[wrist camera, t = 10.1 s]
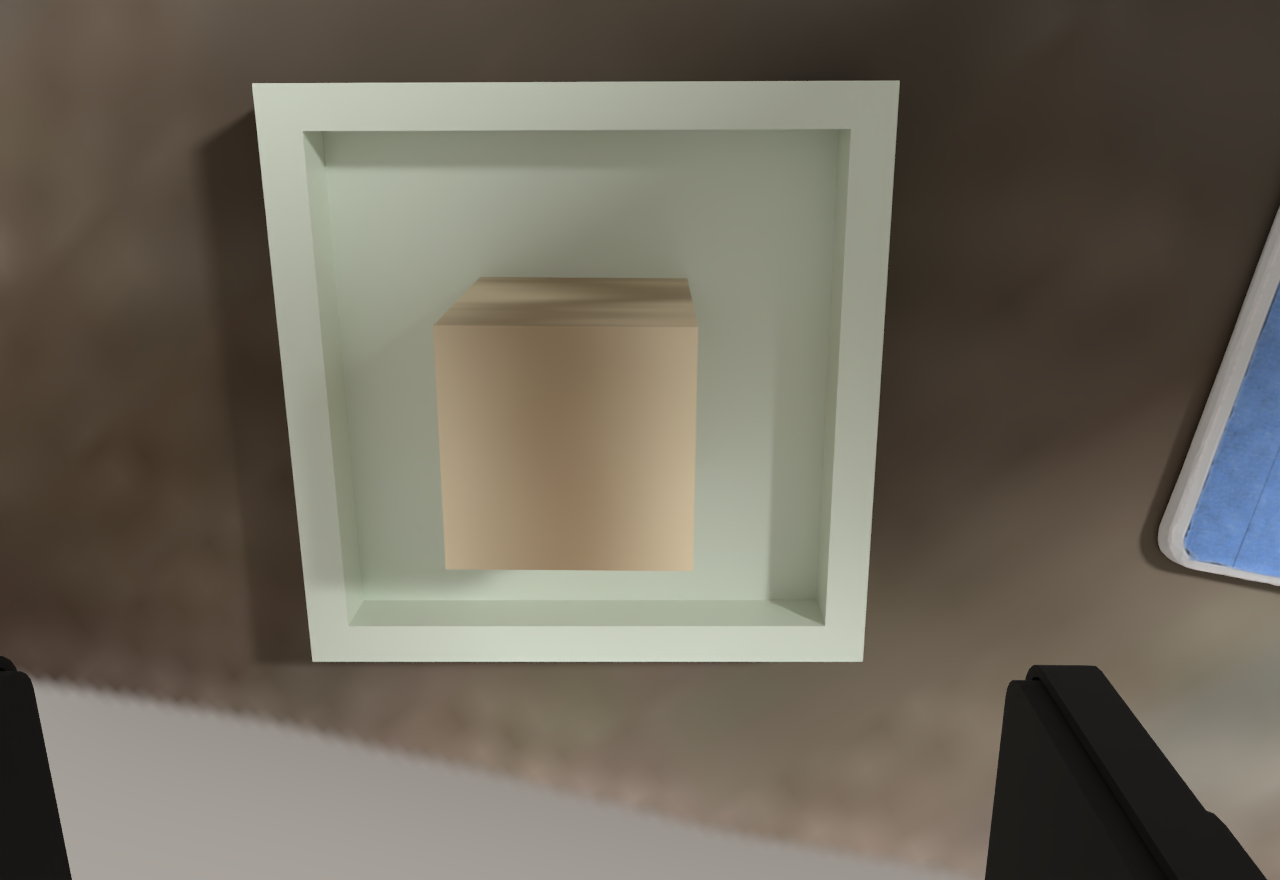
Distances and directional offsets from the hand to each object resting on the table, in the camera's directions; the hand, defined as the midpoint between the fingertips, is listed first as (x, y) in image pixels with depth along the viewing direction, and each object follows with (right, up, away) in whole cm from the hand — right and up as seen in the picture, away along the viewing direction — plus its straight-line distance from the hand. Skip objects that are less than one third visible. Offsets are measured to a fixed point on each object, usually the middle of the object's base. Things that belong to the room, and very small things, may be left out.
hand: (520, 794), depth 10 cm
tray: (0, +5, +17) cm, 18 cm away
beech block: (0, +5, +16) cm, 17 cm away
